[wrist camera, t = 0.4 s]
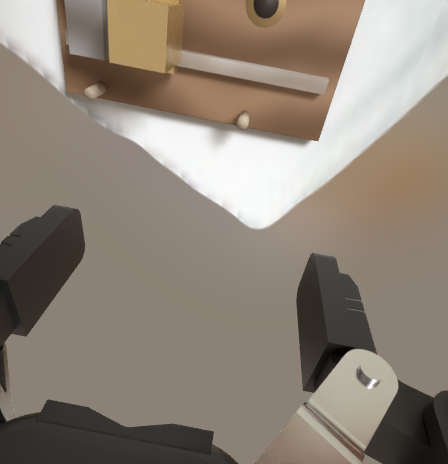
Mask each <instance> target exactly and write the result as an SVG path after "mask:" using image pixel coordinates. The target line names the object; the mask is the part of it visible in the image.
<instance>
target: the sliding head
mask: <svg viewBox="0 0 448 464" xmlns="http://www.w3.org/2000/svg"><path fill="white" fill-rule="evenodd" d="M184 11H185V5H184V4H182V0H107V12H108V38H109V62H110V63H115V64H120V65H125V66H130V67H135V68H140V69H145V70H150V71H155V72H160V73H170V74H175V73H176V72H177V67H178V64H179V63H181V51H182V38H183V24H184Z"/></svg>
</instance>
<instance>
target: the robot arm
mask: <svg viewBox="0 0 448 464" xmlns="http://www.w3.org/2000/svg"><path fill="white" fill-rule="evenodd" d="M84 250H85V242H84V235H83V228H82V222H81V214H80V211H79V210H78V209H74V208H69V207H63V206H58V205H54V206H52V207H51V208H50V209H49V210H48V211H47V212H46V213H45V214H44V215H43V216H42V217H34V218H32V219H30V220H28V221H26V222H24V223H22V224H21V225H19V226H18V227H17V228H16V229H15V230H14V231H13V232H12V233H11V234H10V236H7V237H6V238H5V239H4V240H3V241H2V242H1V244H0V464H238V463H237V462H236V461H235V460H234V459H233V458H232V457H231V456H230V455H228V454H227V453H226V452H224V451H223V450H222V449H220V448H218V447H217V446H215V445H213V444H212V440H213V433H214V432H213V431H208V430H202V429H197V428H192V427H187V426H182V425H177V424H164V425H151V426H140V427H125V426H122V425H120V424H118V423H117V422H115V421H113V420H111V419H109V418H107V417H105V416H103V415H102V414H100V413H98V412H96V411H94V410H92V409H90V408H89V407H84V406H78V405H74V404H68V403H63V402H58V401H52V400H47V402H46V404H45V405H44V407H43V409H42V411H41V412H40V413H39V412H38V413H33V414H28V415H24V416H21V417H17V418H16V417H15V413H14V409H13V405H12V400H11V392H10V380H9V371H8V360H7V348H6V344H5V341H6V340H7V338H8V337H9V336H10V334H16V335H21V336H27V335H28V334H29V332H30V331H31V329H32V328H33V327H34V325H35V324H36V322H37V321H38V320H39V318H40V317H41V315H42V314H43V313H44V311H45V310H46V309H47V307H48V306H49V304H50V303H51V301H52V300H53V299H54V298H55V296H56V295H57V293H58V292H59V291H60V289H61V288H62V286H63V285H64V284H65V282H66V281H67V280H68V278H69V277H70V275H71V274H72V272H73V271H74V270H75V268H76V267H77V266H78V264H79V263H80V261H81V260H82V257H83V255H84ZM296 302H297V316H298V330H299V343H300V357H301V369H302V384H303V391H308V392H313V393H314V394H313V396H312V397H311V398H310V399H309V401H308V402H307V403H304V404H302V406H301V407H300V408H299V409H298V410H297V412H296V413H295V414H294V415H293V416H292V418H291V419H290V420H289V421H288V423H287V424H286V425H285V426H284V428H283V429H282V430H281V431H280V433H279V434H278V435H277V436H276V438H275V439H274V440H273V441H272V443H271V444H270V445H269V446H268V447H267V449H266V450H265V451H264V452H263V454H262V455H261V456H260V457H259V459H258V460H257V461H256V462H255V464H362V462H363V460H364V455H363V453H364V454H366V455H368V456H370V457H371V458H373V459H375V460H377V461H379V462H381V463H382V464H448V391H441V392H440V393H438V394H437V395H436V396H435V397H434V398H433V397H431V396H429V395H426V394H424V393H422V392H420V391H418V390H416V389H414V388H412V387H410V386H408V385H406V384H404V383H402V382H401V381H399V380H398V379H397V377H396V375H395V373H394V371H393V369H392V368H391V367H390V366H389V365H388V363H387V362H386V361H385V360H384V359H382V358H381V357H380V356H378V355H377V353H376V349H375V346H374V342H373V339H372V335H371V332H370V328H369V325H368V321H367V318H366V314H365V313H364V308H363V304H362V302H361V297H360V294H359V290H358V287H357V286H356V284H355V283H354V282H353V280H352V279H351V278H350V276H349V275H346V274H342V273H339V269H338V266H337V261H336V258H335V257H332V256H327V255H321V254H316V253H312V254H311V255H310V257H309V260H308V262H307V265H306V268H305V271H304V273H303V276H302V278H301V281H300V284H299V287H298V291H297V301H296Z"/></svg>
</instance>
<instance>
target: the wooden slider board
mask: <svg viewBox="0 0 448 464" xmlns="http://www.w3.org/2000/svg"><path fill="white" fill-rule="evenodd" d="M364 3H365V0H182V4H184V5H185V11H184V24H183V38H182V51H181V63H179V64H178V67H177V72H176V73H175V74H170V73H160V72H155V71H150V70H145V69H140V68H135V67H130V66H125V65H120V64H115V63H110V62H109V38H108V12H107V0H57V8H58V17H59V26H60V35H61V44H62V53H63V62H64V71H65V80H66V89H67V92H71V93H76V94H81V95H85V96H86V97H87V98H88V99H90V100H92V99H94V98H96V97H97V98H102V99H107V100H112V101H117V102H122V103H127V104H132V105H137V106H142V107H147V108H152V109H157V110H162V111H167V112H172V113H177V114H183V115H188V116H193V117H198V118H203V119H208V120H213V121H218V122H223V123H228V124H233V125H237V126H238V128H239V129H241V130H244V129H246V128H247V127H248V128H253V129H258V130H263V131H269V132H274V133H279V134H284V135H289V136H294V137H299V138H304V139H309V140H314V141H318V140H319V137H320V134H321V131H322V128H323V125H324V122H325V119H326V116H327V113H328V110H329V107H330V104H331V101H332V98H333V95H334V92H335V89H336V87H337V84H338V81H339V78H340V75H341V72H342V69H343V66H344V63H345V60H346V57H347V54H348V51H349V48H350V45H351V42H352V39H353V36H354V33H355V30H356V27H357V24H358V21H359V18H360V15H361V12H362V9H363V6H364Z"/></svg>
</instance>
